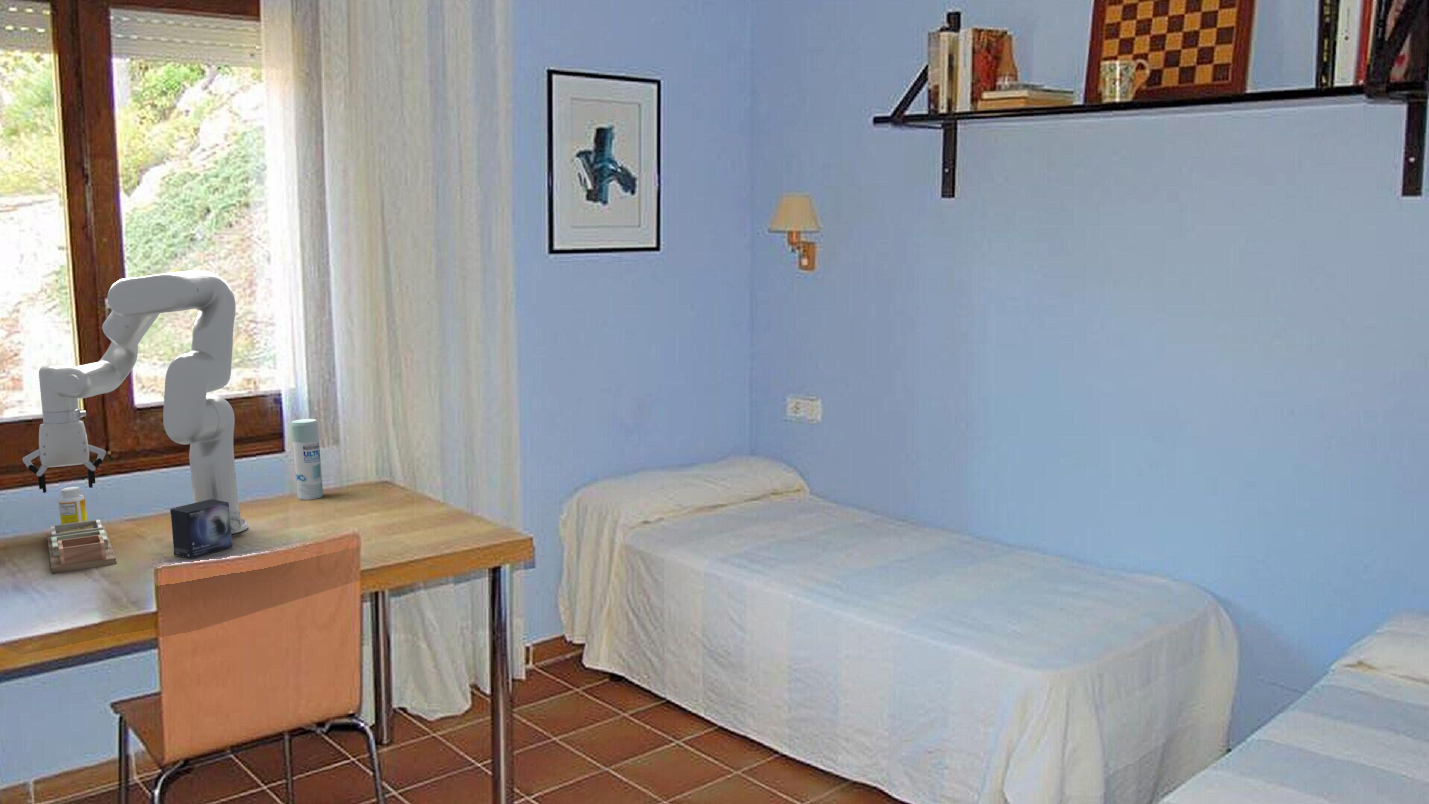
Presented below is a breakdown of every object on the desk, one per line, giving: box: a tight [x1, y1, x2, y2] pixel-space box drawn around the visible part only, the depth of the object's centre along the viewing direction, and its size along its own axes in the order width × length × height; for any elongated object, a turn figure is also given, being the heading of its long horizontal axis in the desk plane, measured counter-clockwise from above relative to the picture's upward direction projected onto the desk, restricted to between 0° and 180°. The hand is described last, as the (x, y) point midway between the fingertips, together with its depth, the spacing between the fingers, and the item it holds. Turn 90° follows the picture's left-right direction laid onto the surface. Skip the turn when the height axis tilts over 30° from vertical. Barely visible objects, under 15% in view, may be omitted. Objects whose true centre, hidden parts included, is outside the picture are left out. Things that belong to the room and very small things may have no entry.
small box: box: [169, 499, 233, 560], centre depth 263 cm, size 11×6×10 cm, turn 148°
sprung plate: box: [59, 526, 93, 533], centre depth 277 cm, size 7×7×1 cm
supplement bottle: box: [57, 486, 89, 525], centre depth 287 cm, size 6×6×10 cm
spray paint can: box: [290, 418, 324, 501], centre depth 313 cm, size 6×6×20 cm
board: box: [46, 519, 117, 574], centre depth 268 cm, size 34×12×5 cm, turn 30°
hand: (67, 489), depth 286 cm, fingers open, 9 cm apart
